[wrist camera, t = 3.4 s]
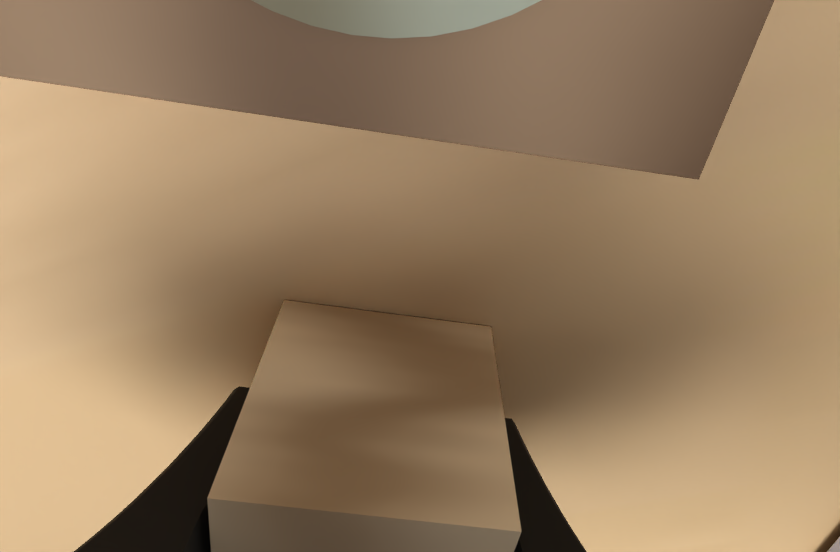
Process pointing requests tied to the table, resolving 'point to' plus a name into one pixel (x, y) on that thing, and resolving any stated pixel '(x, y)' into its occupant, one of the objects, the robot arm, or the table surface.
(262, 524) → the block
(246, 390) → the robot arm
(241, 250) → the table surface
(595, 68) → the plinth
